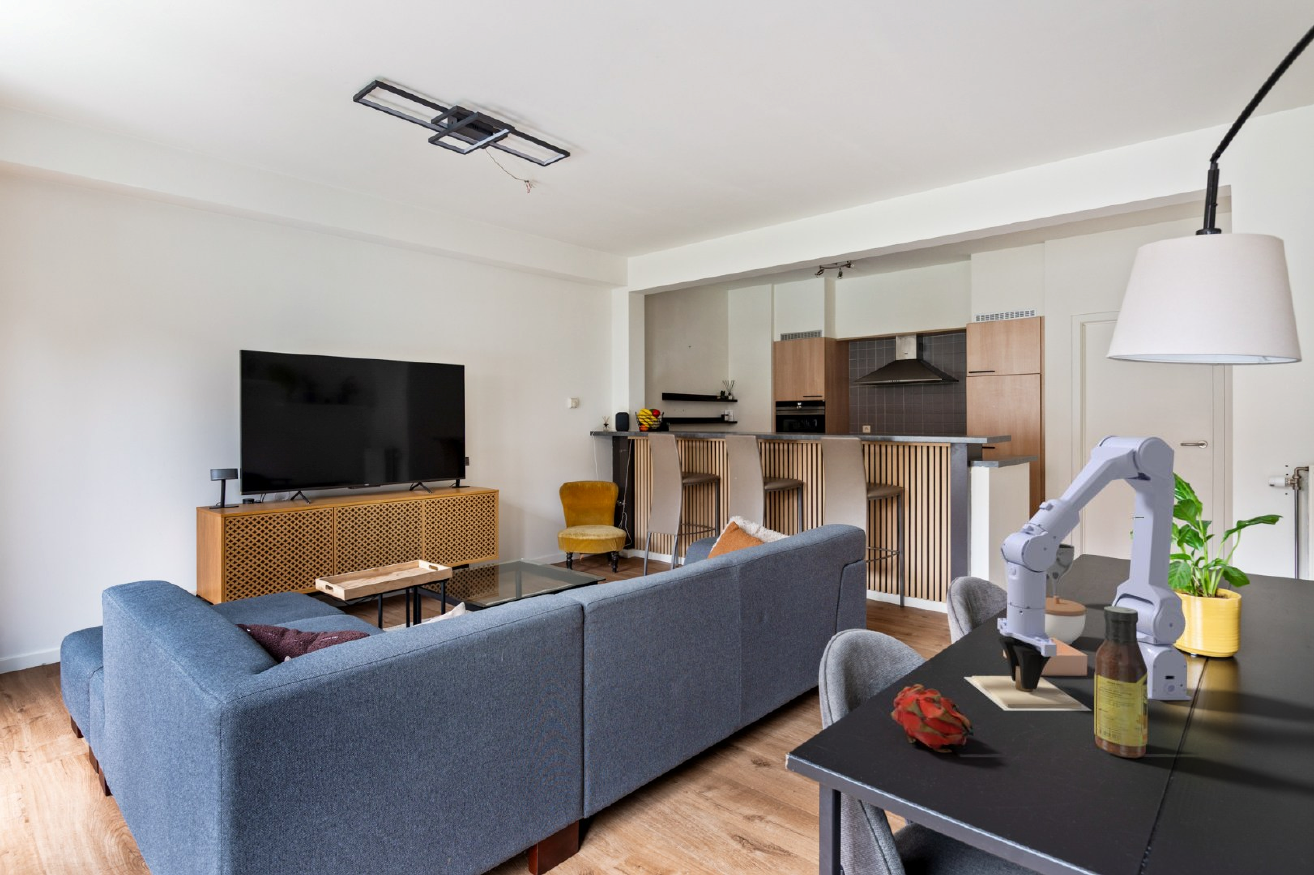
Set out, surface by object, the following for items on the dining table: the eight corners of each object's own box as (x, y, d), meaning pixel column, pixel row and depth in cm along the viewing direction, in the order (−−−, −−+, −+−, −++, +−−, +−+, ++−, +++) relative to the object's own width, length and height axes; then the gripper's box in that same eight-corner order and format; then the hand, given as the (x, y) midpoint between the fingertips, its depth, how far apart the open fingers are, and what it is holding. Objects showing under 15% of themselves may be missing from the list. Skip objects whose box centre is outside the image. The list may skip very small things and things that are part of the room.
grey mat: (1091, 712, 110) (1091, 710, 110) (1004, 712, 109) (1004, 710, 109) (1040, 679, 124) (1040, 677, 124) (963, 679, 123) (963, 677, 123)
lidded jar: (1069, 633, 151) (1070, 590, 150) (1095, 649, 140) (1097, 604, 140) (1018, 631, 152) (1019, 589, 151) (1040, 647, 141) (1041, 602, 141)
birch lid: (1081, 707, 111) (1082, 681, 110) (1007, 707, 110) (1008, 681, 110) (1038, 679, 123) (1039, 655, 122) (971, 679, 122) (972, 655, 122)
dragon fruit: (891, 734, 105) (966, 778, 96) (869, 716, 100) (946, 760, 91) (916, 684, 107) (992, 723, 98) (895, 664, 102) (974, 702, 93)
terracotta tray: (1086, 677, 125) (1087, 655, 125) (1032, 677, 125) (1032, 655, 124) (1053, 658, 135) (1054, 637, 135) (1003, 658, 135) (1003, 637, 134)
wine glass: (1040, 606, 172) (1042, 547, 172) (1033, 598, 180) (1035, 541, 179) (1077, 609, 170) (1078, 549, 169) (1068, 601, 177) (1069, 543, 177)
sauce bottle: (1155, 762, 94) (1160, 617, 93) (1104, 758, 95) (1108, 614, 94) (1132, 740, 100) (1136, 605, 100) (1085, 736, 101) (1088, 602, 101)
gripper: (981, 593, 123) (979, 668, 124) (1026, 616, 109) (1024, 702, 109) (1020, 593, 123) (1018, 668, 124) (1070, 617, 109) (1068, 702, 109)
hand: (1024, 684), depth 116 cm, fingers closed on birch lid, 3 cm apart
